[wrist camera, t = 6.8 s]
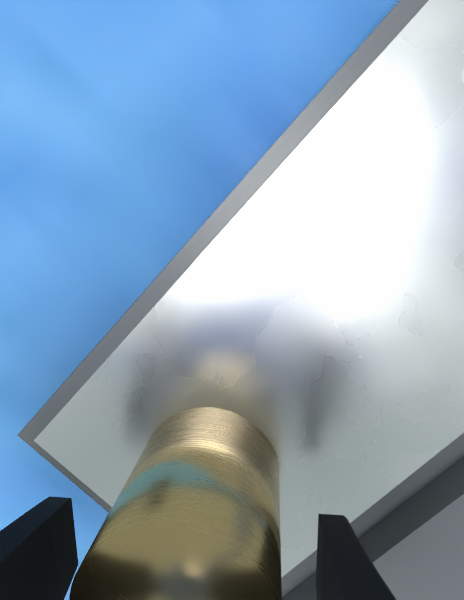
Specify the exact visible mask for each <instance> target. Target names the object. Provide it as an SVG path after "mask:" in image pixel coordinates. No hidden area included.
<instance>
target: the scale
mask: <svg viewBox="0 0 464 600" xmlns="http://www.w3.org/2000/svg"><path fill="white" fill-rule="evenodd" d="M201 407H212V408H220V409H224V410H228V411H231V412H234V413H236V414H239V415H241V416H243V417H244V418H246V419H248V420H249V421H251V422H252V423H253V424H255V425H256V426H257V427H258V428H259V429H260V430H261V431H262V432H263V433H264V434H265V435H266V437H267V438H268V440H269V441H270V443H271V444H272V446H273V448H274V450H275V453H276V456H277V459H278V464H279V485H280V535H281V585H282V600H317V594H316V563H317V539H318V514H331V515H344V516H345V517H346V518H347V519H348V521H349V523H350V525H351V527H352V528H353V530H354V532H355V534H356V536H357V538H358V539H359V541H360V543H361V545H362V546H363V548H364V550H365V551H366V553H367V555H368V556H369V558H370V560H371V561H372V563H373V565H374V566H375V568H376V569H377V571H378V573H379V574H380V576H381V577H382V579H383V580H384V582H385V583H386V585H387V586H388V588H389V589H390V591H391V592H392V594H393V595H394V597H395V598H396V600H464V0H400V1H399V2H398V3H397V4H396V5H395V7H394V8H393V9H392V10H391V11H390V12H389V13H388V15H387V16H386V17H385V18H384V19H383V20H382V21H381V23H380V24H379V25H378V26H377V27H376V28H375V29H374V30H373V32H372V33H371V34H370V35H369V36H368V37H367V38H366V40H365V41H364V42H363V43H362V44H361V45H360V46H359V48H358V49H357V50H356V51H355V52H354V53H353V54H352V55H351V57H350V58H349V59H348V60H347V61H346V62H345V63H344V65H343V66H342V67H341V68H340V69H339V70H338V71H337V73H336V74H335V75H334V76H333V77H332V78H331V79H330V80H329V82H328V83H327V84H326V85H325V86H324V87H323V88H322V90H321V91H320V92H319V93H318V94H317V95H316V96H315V98H314V99H313V100H312V101H311V102H310V103H309V104H308V105H307V107H306V108H305V109H304V110H303V111H302V112H301V113H300V115H299V116H298V117H297V118H296V119H295V120H294V121H293V123H292V124H291V125H290V126H289V127H288V128H287V129H286V131H285V132H284V133H283V134H282V135H281V136H280V137H279V138H278V140H277V141H276V142H275V143H274V144H273V145H272V146H271V148H270V149H269V150H268V151H267V152H266V153H265V154H264V156H263V157H262V158H261V159H260V160H259V161H258V162H257V163H256V165H255V166H254V167H253V168H252V169H251V170H250V171H249V173H248V174H247V175H246V176H245V177H244V178H243V179H242V181H241V182H240V183H239V184H238V185H237V186H236V187H235V188H234V190H233V191H232V192H231V193H230V194H229V195H228V196H227V198H226V199H225V200H224V201H223V202H222V203H221V204H220V206H219V207H218V208H217V209H216V210H215V211H214V212H213V214H212V215H211V216H210V217H209V218H208V219H207V220H206V221H205V223H204V224H203V225H202V226H201V227H200V228H199V229H198V231H197V232H196V233H195V234H194V235H193V236H192V237H191V239H190V240H189V241H188V242H187V243H186V244H185V245H184V246H183V248H182V249H181V250H180V251H179V252H178V253H177V254H176V256H175V257H174V258H173V259H172V260H171V261H170V262H169V264H168V265H167V266H166V267H165V268H164V269H163V270H162V271H161V273H160V274H159V275H158V276H157V277H156V278H155V279H154V281H153V282H152V283H151V284H150V285H149V286H148V287H147V289H146V290H145V291H144V292H143V293H142V294H141V295H140V297H139V298H138V299H137V300H136V301H135V302H134V303H133V304H132V306H131V307H130V308H129V309H128V310H127V311H126V312H125V314H124V315H123V316H122V317H121V318H120V319H119V320H118V322H117V323H116V324H115V325H114V326H113V327H112V328H111V329H110V331H109V332H108V333H107V334H106V335H105V336H104V337H103V339H102V340H101V341H100V342H99V343H98V344H97V345H96V347H95V348H94V349H93V350H92V351H91V352H90V353H89V354H88V356H87V357H86V358H85V359H84V360H83V361H82V362H81V364H80V365H79V366H78V367H77V368H76V369H75V370H74V372H73V373H72V374H71V375H70V376H69V377H68V378H67V379H66V381H65V382H64V383H63V384H62V385H61V386H60V387H59V389H58V390H57V391H56V392H55V393H54V394H53V395H52V397H51V398H50V399H49V400H48V401H47V402H46V403H45V405H44V406H43V407H42V408H41V409H40V410H39V411H38V412H37V414H36V415H35V416H34V417H33V418H32V419H31V420H30V422H29V423H28V424H27V425H26V426H25V427H24V428H23V430H22V431H21V432H20V433H19V434H18V436H19V437H20V438H21V439H23V440H24V441H25V442H26V443H27V444H28V445H30V446H31V447H32V448H33V449H34V450H36V451H37V452H38V453H39V454H40V455H41V456H43V457H44V458H45V459H46V460H47V461H49V462H50V463H51V464H52V465H53V466H54V467H56V468H57V469H58V470H59V471H60V472H62V473H63V474H64V475H65V476H66V477H67V478H69V479H70V480H71V481H72V482H73V483H74V484H76V485H77V486H78V487H79V488H80V489H82V490H83V491H84V492H85V493H86V494H87V495H89V496H90V497H91V498H92V499H93V500H95V501H96V502H97V503H98V504H99V505H100V506H102V507H103V508H104V509H105V510H106V511H108V512H110V511H111V509H112V507H113V505H114V503H115V501H116V500H117V498H118V496H119V494H120V492H121V491H122V489H123V487H124V485H125V483H126V481H127V480H128V478H129V476H130V474H131V472H132V470H133V469H134V467H135V465H136V463H137V461H138V459H139V458H140V456H141V454H142V452H143V450H144V449H145V447H146V445H147V443H148V441H149V439H150V438H151V436H152V434H153V433H154V431H155V430H156V429H157V428H158V427H159V426H160V425H161V424H162V423H163V422H164V421H165V420H167V419H168V418H169V417H171V416H173V415H175V414H177V413H179V412H182V411H185V410H188V409H193V408H201Z"/></svg>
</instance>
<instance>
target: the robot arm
mask: <svg viewBox="0 0 464 600" xmlns="http://www.w3.org/2000/svg"><path fill="white" fill-rule="evenodd" d="M77 566H78V558H77V548H76V538H75V529H74V519H73V509H72V500H71V498H62V497H48V498H47V499H45V500H44V501H42V502H40V503H39V504H38V505H36V506H35V507H33V508H32V509H30V510H29V511H28V512H26V513H25V514H23V515H22V516H21V517H19V518H18V519H16V520H15V521H14V522H12V523H11V524H9V525H8V526H7V527H5V528H4V529H3V530H1V531H0V600H64V598H65V596H66V593H67V591H68V589H69V586H70V584H71V581H72V579H73V576H74V574H75V571H76V569H77ZM316 594H317V600H396V598H395V597H394V595H393V594H392V592H391V591H390V589H389V588H388V586H387V585H386V583H385V582H384V580H383V579H382V577H381V576H380V574H379V573H378V571H377V569H376V568H375V566H374V565H373V563H372V561H371V560H370V558H369V556H368V555H367V553H366V551H365V550H364V548H363V546H362V545H361V543H360V541H359V539H358V538H357V536H356V534H355V532H354V530H353V528H352V527H351V525H350V523H349V521H348V519H347V518H346V517H345V516H344V515H331V514H318V539H317V563H316Z"/></svg>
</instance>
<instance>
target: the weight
mask: <svg viewBox="0 0 464 600" xmlns="http://www.w3.org/2000/svg"><path fill="white" fill-rule="evenodd" d="M70 600H282V585H281V535H280V485H279V464H278V459H277V456H276V453H275V450H274V448H273V446H272V444H271V443H270V441H269V440H268V438H267V437H266V435H265V434H264V433H263V432H262V431H261V430H260V429H259V428H258V427H257V426H256V425H255V424H253V423H252V422H251V421H249V420H248V419H246V418H244V417H243V416H241V415H239V414H236V413H234V412H231V411H228V410H224V409H220V408H212V407H201V408H193V409H188V410H185V411H182V412H179V413H177V414H175V415H173V416H171V417H169V418H168V419H167V420H165V421H164V422H163V423H162V424H161V425H160V426H159V427H158V428H157V429H156V430H155V431H154V433H153V434H152V436H151V438H150V439H149V441H148V443H147V445H146V447H145V449H144V450H143V452H142V454H141V456H140V458H139V459H138V461H137V463H136V465H135V467H134V469H133V470H132V472H131V474H130V476H129V478H128V480H127V481H126V483H125V485H124V487H123V489H122V491H121V492H120V494H119V496H118V498H117V500H116V501H115V503H114V505H113V507H112V509H111V511H110V512H109V514H108V516H107V518H106V520H105V522H104V523H103V525H102V527H101V529H100V531H99V532H98V534H97V536H96V538H95V540H94V542H93V543H92V545H91V547H90V549H89V551H88V553H87V554H86V556H85V558H84V560H83V562H82V564H81V565H80V567H79V569H78V571H77V573H76V575H75V577H74V580H73V583H72V586H71V592H70Z"/></svg>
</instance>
